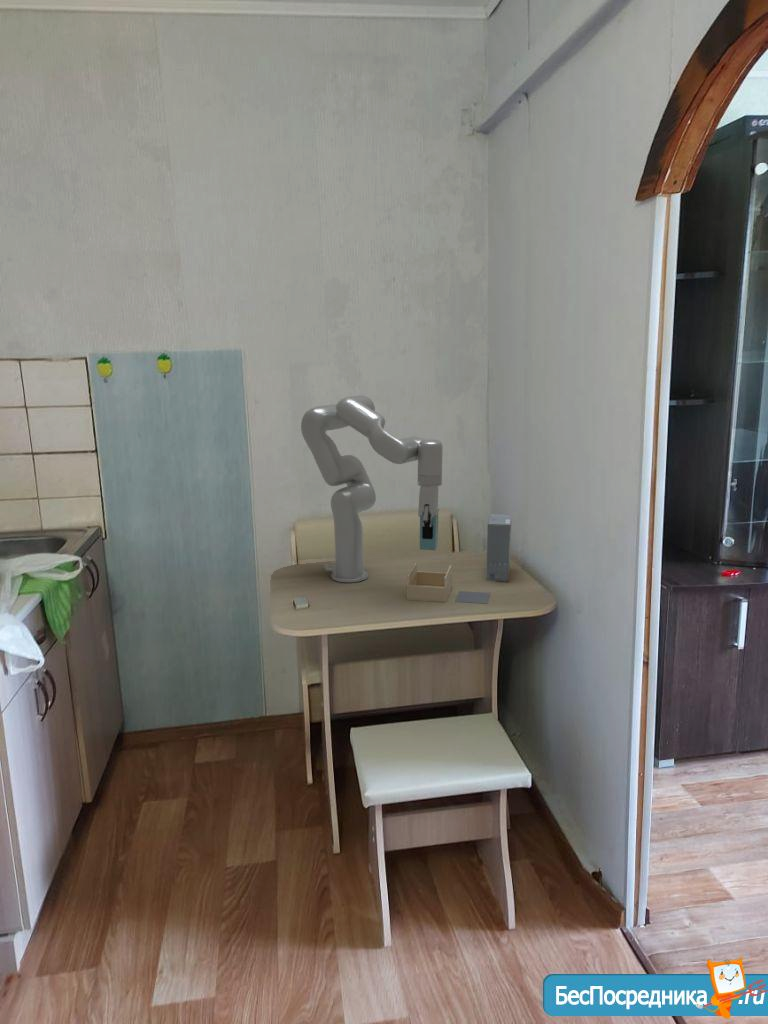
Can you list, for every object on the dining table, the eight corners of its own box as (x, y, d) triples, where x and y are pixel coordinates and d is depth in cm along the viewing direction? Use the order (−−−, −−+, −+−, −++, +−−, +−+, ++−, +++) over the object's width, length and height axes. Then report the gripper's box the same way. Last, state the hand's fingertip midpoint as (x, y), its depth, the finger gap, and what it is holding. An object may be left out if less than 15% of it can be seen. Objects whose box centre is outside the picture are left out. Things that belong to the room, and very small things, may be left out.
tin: (419, 549, 237) (419, 511, 234) (422, 544, 242) (422, 508, 239) (435, 550, 236) (436, 512, 233) (438, 546, 241) (438, 508, 238)
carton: (406, 600, 237) (406, 576, 235) (415, 585, 251) (415, 562, 249) (445, 603, 234) (445, 578, 232) (452, 587, 248) (452, 564, 247)
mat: (454, 603, 234) (455, 601, 234) (459, 592, 243) (459, 591, 243) (487, 605, 232) (487, 603, 232) (490, 594, 241) (490, 592, 241)
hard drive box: (508, 582, 253) (510, 524, 248) (485, 581, 254) (486, 524, 250) (510, 568, 268) (511, 514, 263) (488, 567, 269) (489, 513, 265)
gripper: (422, 474, 243) (421, 528, 247) (412, 484, 227) (412, 543, 231) (445, 475, 241) (444, 530, 246) (437, 485, 225) (436, 544, 229)
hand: (428, 535), depth 238 cm, fingers closed on tin, 5 cm apart
